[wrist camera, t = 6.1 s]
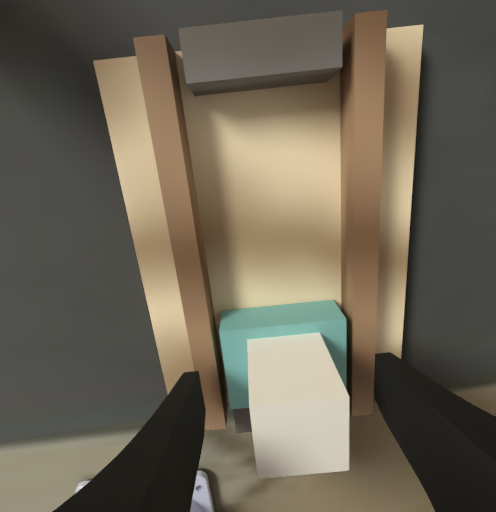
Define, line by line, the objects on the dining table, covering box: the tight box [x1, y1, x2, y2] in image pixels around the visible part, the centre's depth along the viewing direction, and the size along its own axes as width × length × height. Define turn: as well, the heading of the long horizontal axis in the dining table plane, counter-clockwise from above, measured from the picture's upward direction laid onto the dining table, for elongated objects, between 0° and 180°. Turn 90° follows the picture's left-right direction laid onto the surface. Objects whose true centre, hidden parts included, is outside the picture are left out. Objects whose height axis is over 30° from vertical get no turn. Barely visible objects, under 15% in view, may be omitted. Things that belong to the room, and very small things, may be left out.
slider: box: [219, 300, 349, 479], centre depth 12 cm, size 4×5×5 cm
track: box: [93, 10, 423, 433], centre depth 13 cm, size 16×12×3 cm
